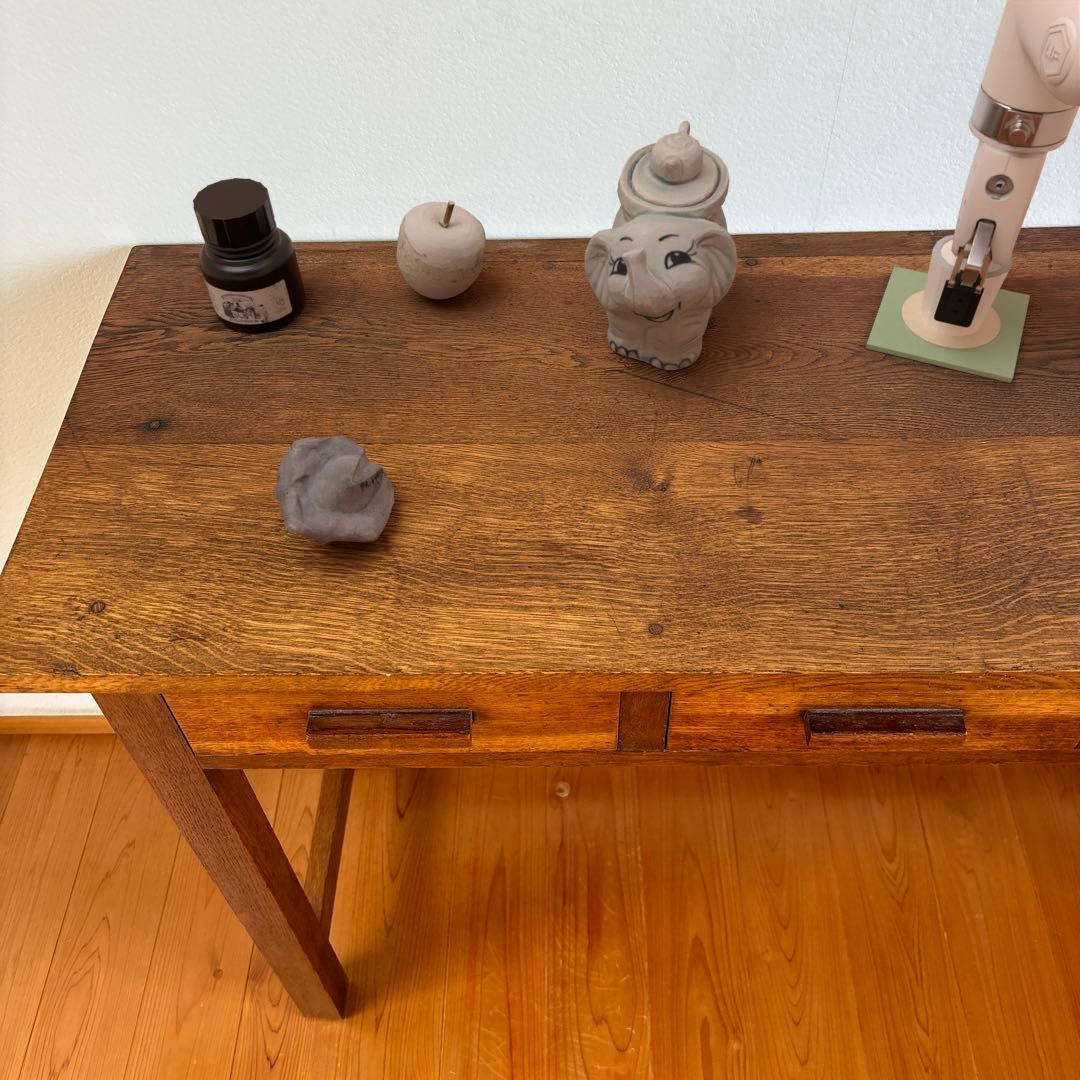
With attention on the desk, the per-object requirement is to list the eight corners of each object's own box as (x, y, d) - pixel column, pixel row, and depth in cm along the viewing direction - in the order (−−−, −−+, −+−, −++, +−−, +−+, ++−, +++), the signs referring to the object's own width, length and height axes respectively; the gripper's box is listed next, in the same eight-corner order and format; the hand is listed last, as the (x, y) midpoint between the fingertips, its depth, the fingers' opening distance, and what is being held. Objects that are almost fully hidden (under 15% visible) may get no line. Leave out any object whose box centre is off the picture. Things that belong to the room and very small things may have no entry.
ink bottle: (197, 327, 99) (159, 219, 90) (235, 274, 104) (202, 166, 95) (290, 340, 97) (260, 231, 88) (323, 285, 103) (299, 177, 93)
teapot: (637, 419, 89) (650, 233, 75) (537, 333, 97) (531, 149, 83) (773, 345, 95) (809, 159, 81) (668, 269, 103) (684, 87, 88)
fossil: (379, 583, 78) (363, 515, 72) (266, 575, 79) (240, 507, 73) (407, 478, 85) (394, 408, 79) (302, 472, 86) (281, 402, 80)
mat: (1028, 300, 98) (1030, 293, 98) (1010, 383, 91) (1013, 376, 90) (892, 270, 102) (894, 264, 101) (865, 348, 94) (867, 342, 94)
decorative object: (388, 282, 103) (373, 193, 95) (465, 255, 105) (456, 166, 98) (425, 329, 98) (413, 239, 90) (505, 300, 100) (499, 210, 93)
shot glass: (990, 302, 97) (1015, 239, 92) (986, 347, 93) (1011, 283, 88) (917, 289, 99) (936, 226, 93) (909, 332, 94) (929, 269, 89)
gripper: (1062, 176, 74) (989, 358, 87) (1083, 72, 84) (1014, 249, 97) (957, 157, 76) (901, 337, 89) (989, 57, 86) (934, 232, 100)
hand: (960, 291), depth 93 cm, fingers open, 9 cm apart
